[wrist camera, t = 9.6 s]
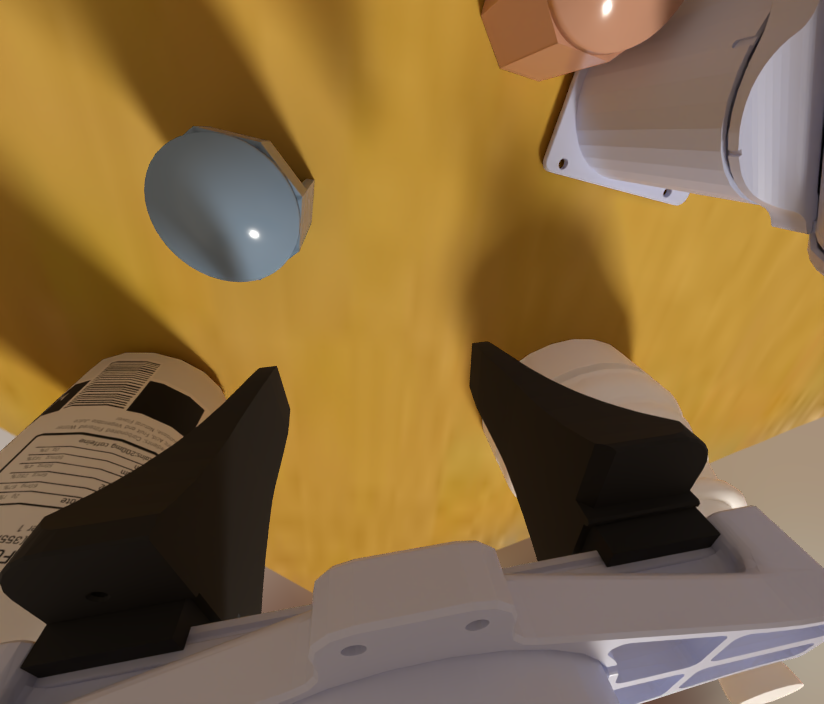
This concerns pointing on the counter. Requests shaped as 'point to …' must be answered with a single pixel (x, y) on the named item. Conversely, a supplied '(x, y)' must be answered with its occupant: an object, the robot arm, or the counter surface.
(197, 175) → the slate-blue dome with prongs
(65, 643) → the robot arm
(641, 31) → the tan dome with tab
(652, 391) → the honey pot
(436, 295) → the counter surface
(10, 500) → the supplement can
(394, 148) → the counter surface
